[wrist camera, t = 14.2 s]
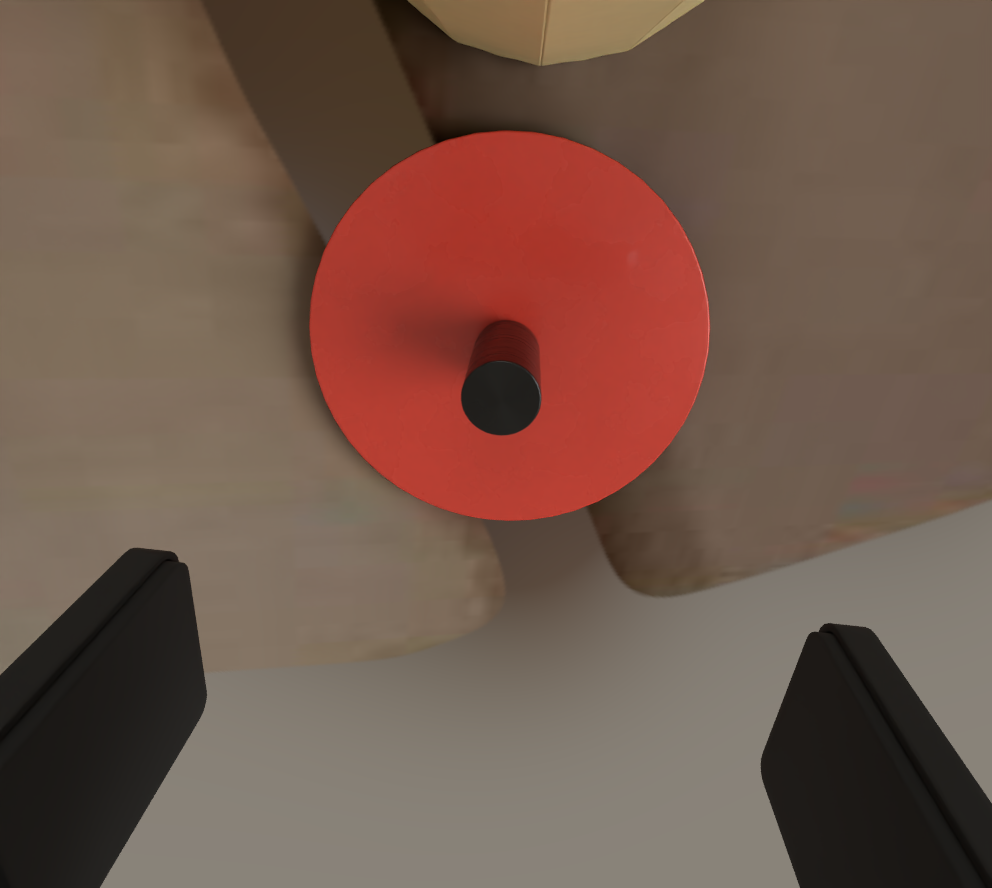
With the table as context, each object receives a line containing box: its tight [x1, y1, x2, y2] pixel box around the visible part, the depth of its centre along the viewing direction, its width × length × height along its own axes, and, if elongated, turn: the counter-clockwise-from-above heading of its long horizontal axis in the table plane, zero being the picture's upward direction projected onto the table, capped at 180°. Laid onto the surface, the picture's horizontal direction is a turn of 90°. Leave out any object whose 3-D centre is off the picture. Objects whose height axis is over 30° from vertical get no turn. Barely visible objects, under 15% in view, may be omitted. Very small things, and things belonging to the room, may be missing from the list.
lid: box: [309, 130, 710, 521], centre depth 23 cm, size 16×16×6 cm
